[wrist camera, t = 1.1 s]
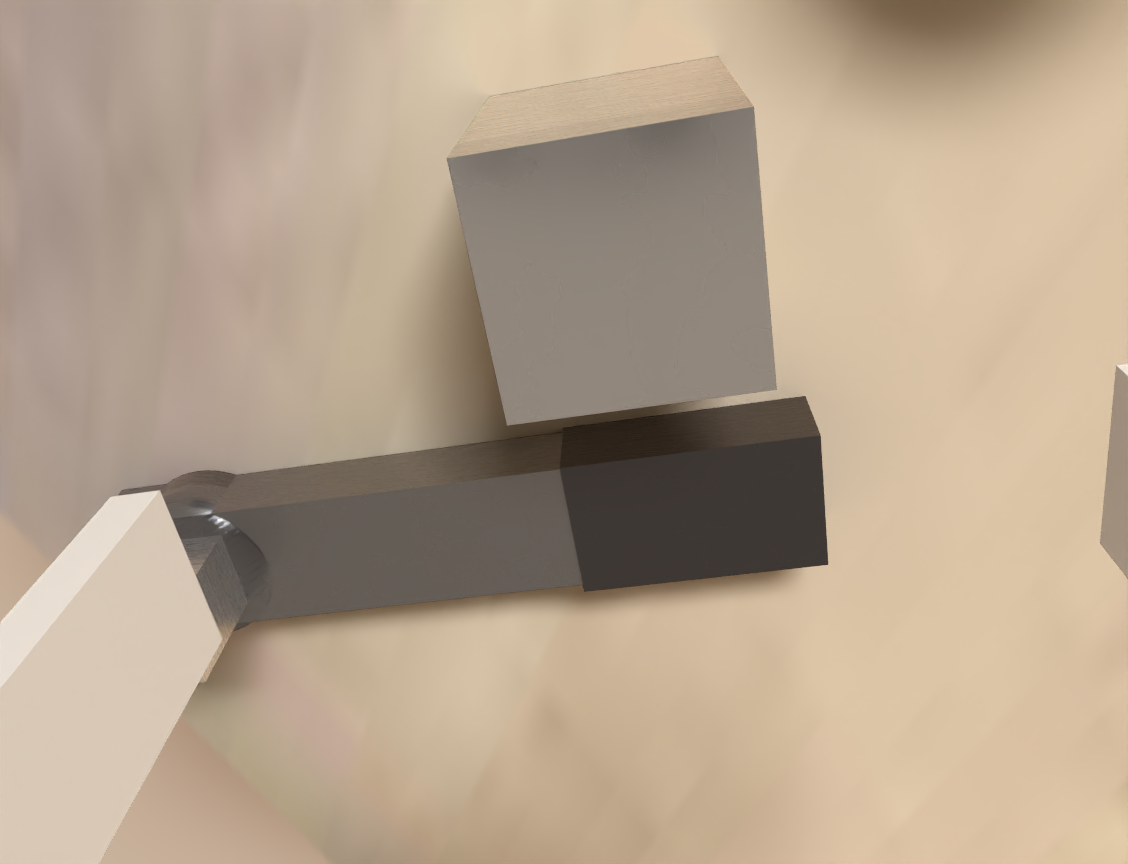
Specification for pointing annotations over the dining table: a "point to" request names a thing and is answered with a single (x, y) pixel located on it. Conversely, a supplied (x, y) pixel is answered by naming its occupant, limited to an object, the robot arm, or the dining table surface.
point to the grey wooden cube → (618, 241)
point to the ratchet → (510, 515)
